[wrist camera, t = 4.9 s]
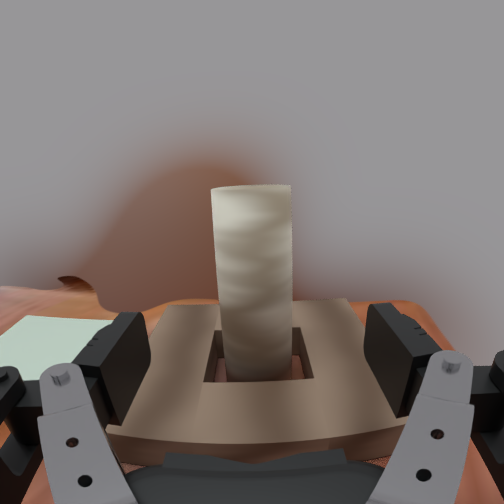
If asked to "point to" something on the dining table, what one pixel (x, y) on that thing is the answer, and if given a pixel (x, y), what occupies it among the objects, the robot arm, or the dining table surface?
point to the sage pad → (45, 343)
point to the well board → (257, 394)
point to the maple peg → (254, 280)
